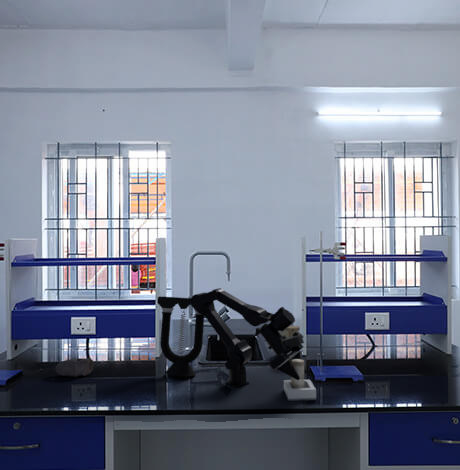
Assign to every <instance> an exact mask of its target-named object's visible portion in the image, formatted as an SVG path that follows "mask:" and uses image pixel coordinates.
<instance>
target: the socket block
mask: <svg viewBox="0 0 460 470" xmlns="http://www.w3.org/2000/svg"><path fill="white" fill-rule="evenodd" d="M283 391H284V393H285V396H286V398H287V401H292V402H293V401H317V388H316V387H315V386H314V384H313V381H311V379H304V388H291V379H284V380H283Z"/></svg>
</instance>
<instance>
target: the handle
mask: <svg viewBox="0 0 460 470" xmlns="http://www.w3.org/2000/svg"><path fill="white" fill-rule="evenodd" d="M285 330H286V331H287V332H288V334H289V336H288V338H289V337H292V336H293V333H295V332H300V330H301V327H300V326H298V325H290V326H289V327H288V328H287V329H285ZM288 359H290V358H288Z"/></svg>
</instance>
